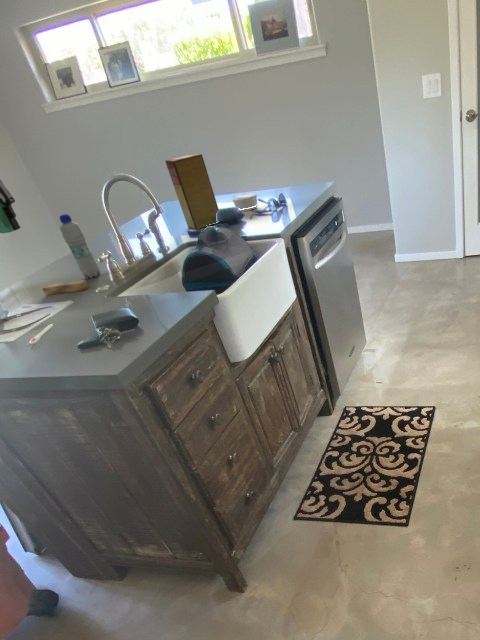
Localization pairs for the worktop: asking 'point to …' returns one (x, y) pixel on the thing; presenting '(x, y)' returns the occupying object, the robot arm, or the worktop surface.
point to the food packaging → (193, 190)
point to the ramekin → (245, 201)
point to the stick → (65, 287)
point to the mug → (4, 222)
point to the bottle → (79, 247)
